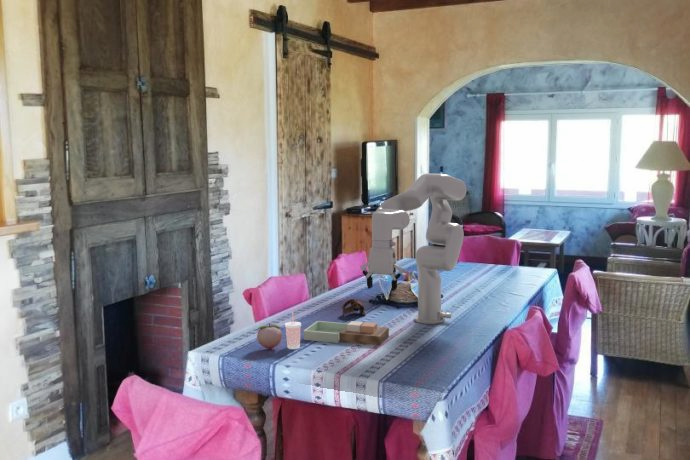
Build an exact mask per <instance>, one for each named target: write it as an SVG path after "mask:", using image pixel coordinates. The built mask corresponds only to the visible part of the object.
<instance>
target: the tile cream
mask: <svg viewBox="0 0 690 460" xmlns="http://www.w3.org/2000/svg"><path fill="white" fill-rule="evenodd" d="M347 323H348V324H347V331H354V332H360V331H361V325H362V324H363V323H365V322H364V321H355V320H354V321H353V320H351V321H350V322H347Z"/></svg>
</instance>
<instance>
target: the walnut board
mask: <svg viewBox="0 0 690 460" xmlns="http://www.w3.org/2000/svg"><path fill="white" fill-rule="evenodd" d="M389 330H390V328H389V327H383V326H377V330H376V331H375V332H374V333H366V332H361V331H360V332H354V331H347V327H346V328H345V329H344V330H342V331H341V332H340V333H339V342H338V343H349V344H357V345H367V346H368V345H369V346H378V347H381V346H382V344H383V343H384V342H386V340H387V339H388V338H389V336H390V331H389Z"/></svg>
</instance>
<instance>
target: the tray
mask: <svg viewBox="0 0 690 460" xmlns="http://www.w3.org/2000/svg"><path fill="white" fill-rule="evenodd" d="M348 323H349V322H338V321H337V322H334V321H325V320H316V321H314V322H313V323H312V324H311V325H309V326H307V328H305V329H303V330H302V331H303V340H304V341H313V342H315V341H316V342H325V343H327V342H328V343H335V344H339V343H340V342H339V333H340V332H341V331H342V330H344V329H345V328H346V327H347V324H348Z"/></svg>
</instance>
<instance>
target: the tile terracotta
mask: <svg viewBox="0 0 690 460" xmlns="http://www.w3.org/2000/svg"><path fill="white" fill-rule="evenodd" d="M377 327H378V323H377V322H367V321H366V322H364V323H363V324H362V325H361V332H366V333H374V332H375V331H376V330H377Z"/></svg>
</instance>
